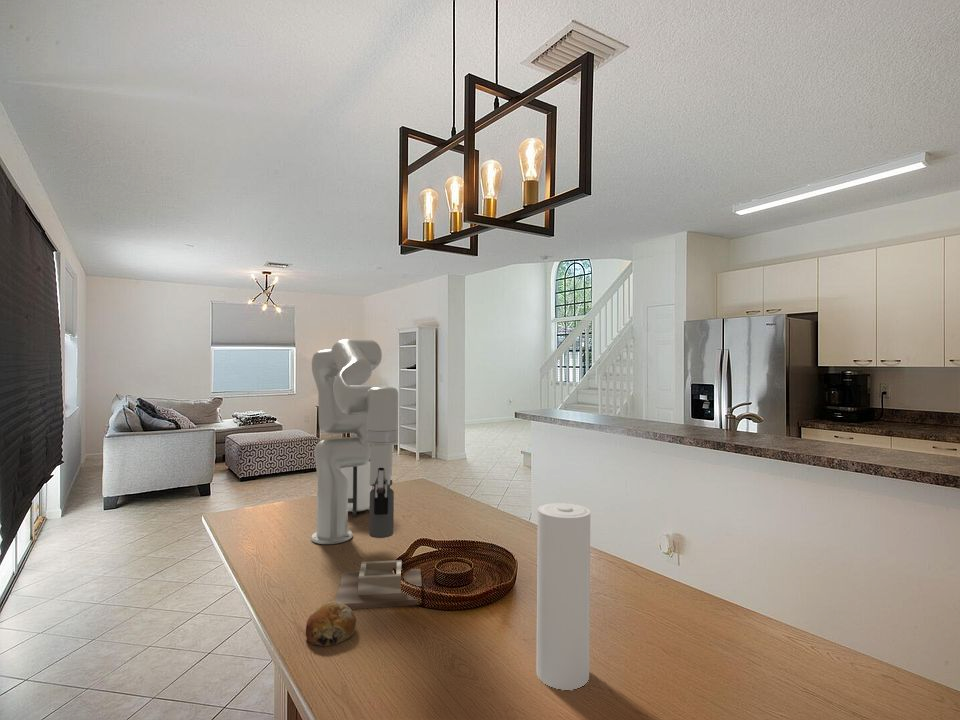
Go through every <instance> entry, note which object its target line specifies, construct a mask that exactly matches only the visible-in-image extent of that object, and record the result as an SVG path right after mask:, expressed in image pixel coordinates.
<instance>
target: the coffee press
mask: <svg viewBox="0 0 960 720" xmlns="http://www.w3.org/2000/svg"><path fill="white" fill-rule="evenodd" d="M352 434H353V433H352ZM353 436H354V434H353ZM370 445H371V444H370ZM340 471H341V472H342V474H343V475H344V476H345V477H346V478H347V481H348V512H352V518H356V517H357V515H358V514H357V512H362V511H367V510H368V509H369V510H370V491H371V490H373V489H374V486H370V460H369V462H368V463H367V464H366V465H363V466H355V467H345V468H341V469H340Z"/></svg>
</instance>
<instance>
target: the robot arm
mask: <svg viewBox="0 0 960 720" xmlns="http://www.w3.org/2000/svg"><path fill="white" fill-rule="evenodd" d="M382 354H383V353H382V349H381V346H380V345H379V344H378V343H377V341H375V340H374V339H373V340H372V339H354V338H345V339H340V340H338V341H336V342H334V344H333V346H332V348H330V349H323V350H318V351H316V352H314V354H313V355H312V358H311V372H312V375H313V379H314V381H315V385H316V388H317V393H318V394H317V398H318V407H317V408H318V425H319V430H320V432H321V433H324V434H327V435H336V434H337V435H338V434H339V435H340V434H354V435H353V436H351V437H349V436H348V437H333V438H325V439H322V440H320V441H319V442H318V443H316V445H315V447H314V451H313V452H314V461H315V462H314V463H315V468H316V531H315V532H314V533H312V534H311V537H310V539H311V541H312V543H313V542H314V544H319V545H320V544H321V545H336V544H341V543H344V542H347V541H349V540H351V539H352V538H353V532H352V530H350V529H348V526H349V525H348V523H349V522H348V520H349V516H348V514H349V511H348V481H347V478H346V477H345V476H344V475H343V474H342V472H341V471H340V469H341V468H345V467H355V466H363V465H366V464H367V463H368V462H369V460H370V486H372V485H373V484H375V482H376V485H375V487H376V488H375V498H374V514H375V515H385V514H388V497H387V486H388V485H389V484H390V480H392V475H391V473H392V472H393V458H394V456H393V455H394V454H393V453H394V451H393V450H394V448H393V447H394V445H396V444H398V443H399V439H398V437H399V391H398V390H397V388H396V387H393V386H388V385H386V384H385V385H384V384H366V382H368V381H369V379H370V377H371V376H372V373H373V371H374V370H376V369H377V368H378V367H379V365H380V364H381V362H382V357H383V355H382ZM370 444H371V445H370ZM385 478H386V481H385ZM377 482H378V484H377ZM384 482H386V484H383V483H384ZM383 487H385V489H384V488H383Z"/></svg>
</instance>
